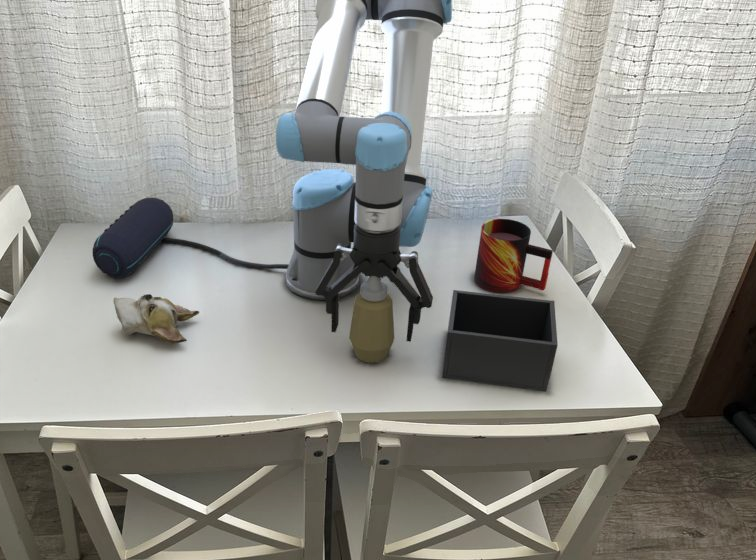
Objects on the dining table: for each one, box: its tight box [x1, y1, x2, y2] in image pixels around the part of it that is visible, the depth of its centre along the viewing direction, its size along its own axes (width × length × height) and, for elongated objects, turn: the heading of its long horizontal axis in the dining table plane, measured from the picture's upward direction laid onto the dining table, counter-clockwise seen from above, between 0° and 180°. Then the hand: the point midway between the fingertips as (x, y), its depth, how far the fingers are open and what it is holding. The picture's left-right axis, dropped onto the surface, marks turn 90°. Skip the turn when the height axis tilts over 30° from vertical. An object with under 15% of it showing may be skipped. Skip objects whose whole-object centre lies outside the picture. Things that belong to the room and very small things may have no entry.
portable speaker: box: [92, 197, 174, 279], centre depth 159 cm, size 25×10×10 cm, turn 164°
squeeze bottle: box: [348, 276, 395, 364], centre depth 126 cm, size 8×8×18 cm
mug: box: [473, 218, 554, 294], centre depth 147 cm, size 10×14×12 cm
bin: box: [441, 289, 559, 393], centre depth 126 cm, size 18×14×10 cm
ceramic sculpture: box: [113, 293, 200, 344], centre depth 135 cm, size 11×9×15 cm
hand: (371, 332), depth 128 cm, fingers open, 13 cm apart
